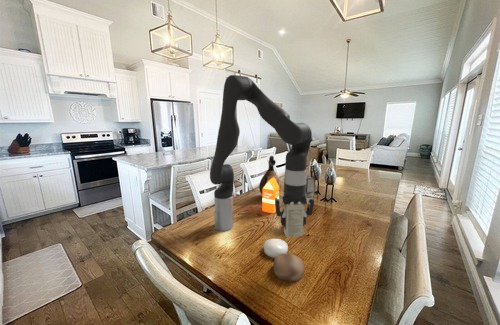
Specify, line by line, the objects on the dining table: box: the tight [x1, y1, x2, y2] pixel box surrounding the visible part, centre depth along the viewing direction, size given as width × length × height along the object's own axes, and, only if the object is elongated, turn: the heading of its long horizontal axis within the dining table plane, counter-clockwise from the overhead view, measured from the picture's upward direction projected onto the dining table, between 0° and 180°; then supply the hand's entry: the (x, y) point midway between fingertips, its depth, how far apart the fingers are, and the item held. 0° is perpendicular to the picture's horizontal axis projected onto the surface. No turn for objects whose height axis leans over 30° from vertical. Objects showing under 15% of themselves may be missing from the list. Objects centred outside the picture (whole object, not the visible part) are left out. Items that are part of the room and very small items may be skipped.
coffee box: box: [305, 175, 316, 203], centre depth 142 cm, size 9×6×16 cm
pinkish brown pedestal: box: [273, 253, 305, 283], centre depth 77 cm, size 11×11×3 cm
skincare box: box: [283, 203, 305, 238], centre depth 74 cm, size 6×4×12 cm
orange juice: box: [261, 177, 280, 214], centre depth 127 cm, size 8×9×20 cm
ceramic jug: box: [258, 155, 282, 195], centre depth 146 cm, size 17×15×30 cm
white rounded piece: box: [263, 238, 289, 259], centre depth 88 cm, size 10×10×2 cm
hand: (293, 225), depth 75 cm, fingers closed on skincare box, 6 cm apart
